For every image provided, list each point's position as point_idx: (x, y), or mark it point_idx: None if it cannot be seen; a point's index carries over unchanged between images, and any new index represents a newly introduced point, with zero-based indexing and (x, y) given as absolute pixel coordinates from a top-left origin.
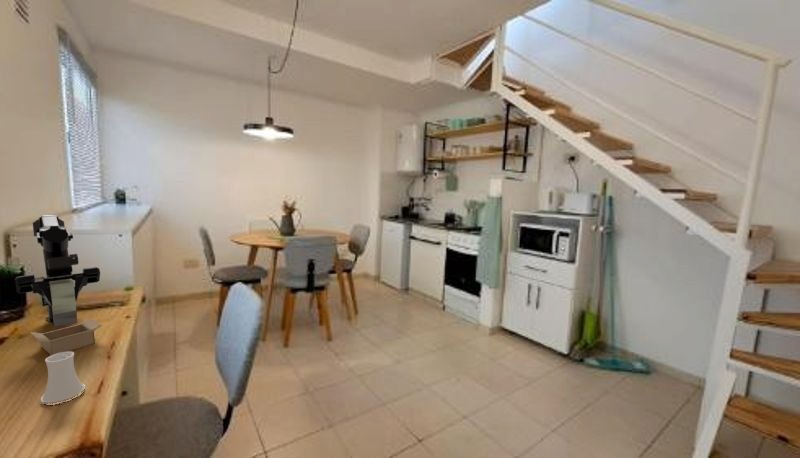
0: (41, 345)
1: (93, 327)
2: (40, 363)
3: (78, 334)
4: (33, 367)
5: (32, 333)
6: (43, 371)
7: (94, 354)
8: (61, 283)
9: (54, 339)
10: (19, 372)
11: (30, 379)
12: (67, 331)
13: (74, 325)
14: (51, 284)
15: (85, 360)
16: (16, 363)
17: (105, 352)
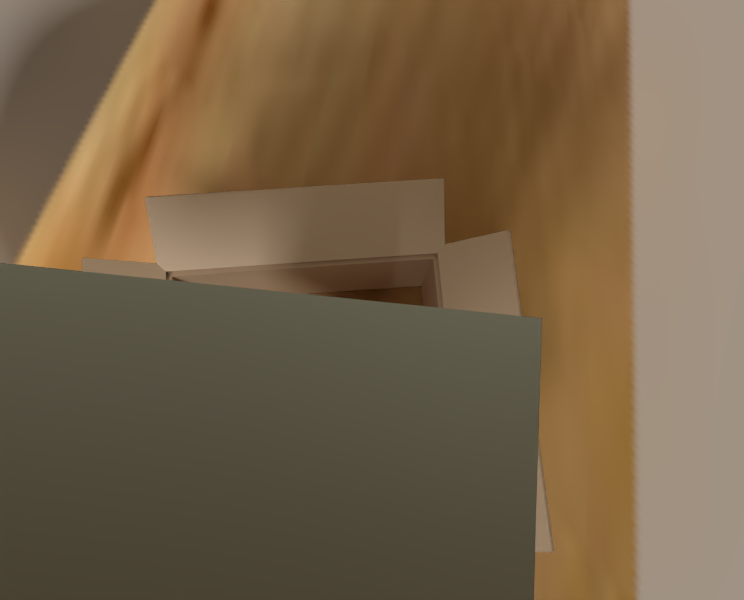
0: None
1: None
2: (489, 206)
3: (271, 214)
4: (522, 176)
5: (541, 483)
6: (489, 82)
7: (252, 106)
8: (47, 380)
9: (428, 179)
10: (581, 162)
11: (544, 33)
12: None
13: None
14: (476, 543)
15: (309, 60)
16: (590, 315)
17: (202, 88)
